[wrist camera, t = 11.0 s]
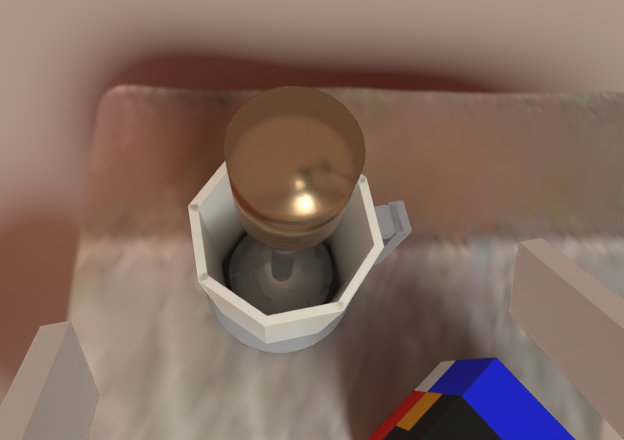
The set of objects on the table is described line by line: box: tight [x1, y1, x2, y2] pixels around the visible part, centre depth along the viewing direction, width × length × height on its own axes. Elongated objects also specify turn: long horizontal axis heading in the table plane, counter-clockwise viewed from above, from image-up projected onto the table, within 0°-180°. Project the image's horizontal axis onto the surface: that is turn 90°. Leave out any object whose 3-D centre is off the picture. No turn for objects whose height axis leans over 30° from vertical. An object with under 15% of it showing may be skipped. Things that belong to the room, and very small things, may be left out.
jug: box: [188, 161, 412, 353], centre depth 33 cm, size 14×12×15 cm
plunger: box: [224, 86, 365, 316], centre depth 27 cm, size 8×8×22 cm
